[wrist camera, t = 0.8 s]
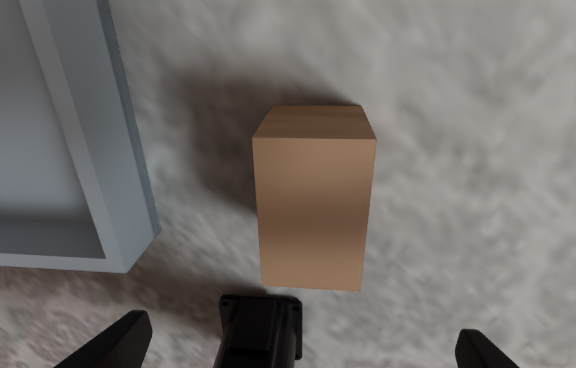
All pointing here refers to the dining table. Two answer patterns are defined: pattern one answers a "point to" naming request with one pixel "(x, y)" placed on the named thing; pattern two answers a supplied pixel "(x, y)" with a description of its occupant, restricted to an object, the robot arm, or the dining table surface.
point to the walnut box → (313, 195)
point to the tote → (69, 142)
